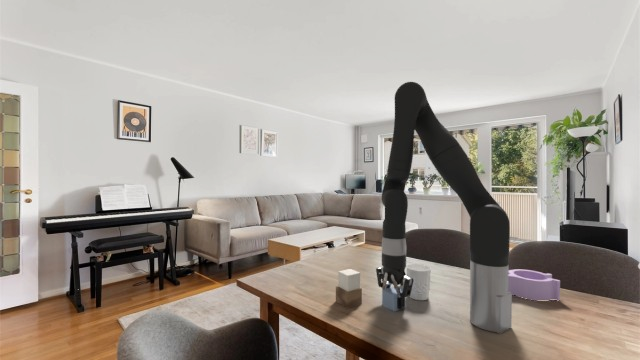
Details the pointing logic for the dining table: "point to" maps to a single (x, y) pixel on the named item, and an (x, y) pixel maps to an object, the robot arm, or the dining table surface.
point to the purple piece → (533, 285)
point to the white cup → (419, 281)
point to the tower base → (348, 297)
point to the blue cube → (390, 298)
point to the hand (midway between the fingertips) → (393, 305)
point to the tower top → (349, 279)
